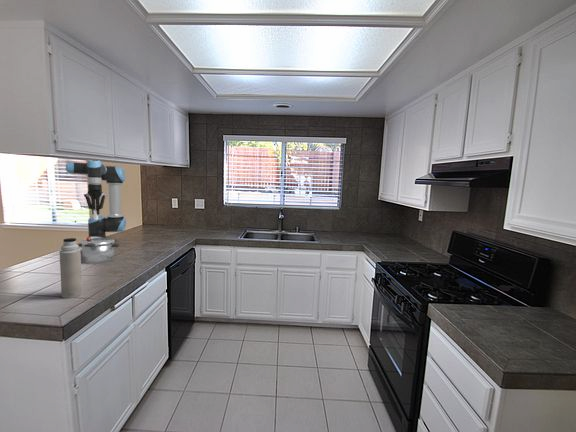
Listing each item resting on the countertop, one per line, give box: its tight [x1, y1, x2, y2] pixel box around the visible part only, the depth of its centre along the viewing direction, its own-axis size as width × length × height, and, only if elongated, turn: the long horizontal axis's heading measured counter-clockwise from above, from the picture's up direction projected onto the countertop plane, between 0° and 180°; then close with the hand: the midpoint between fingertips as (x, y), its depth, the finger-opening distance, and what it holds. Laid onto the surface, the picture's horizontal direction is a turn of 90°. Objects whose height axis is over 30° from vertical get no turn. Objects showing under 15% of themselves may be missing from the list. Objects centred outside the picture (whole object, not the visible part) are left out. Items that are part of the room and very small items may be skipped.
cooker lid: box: [80, 237, 116, 247], centre depth 194 cm, size 23×19×4 cm
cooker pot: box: [76, 242, 120, 265], centre depth 197 cm, size 18×25×12 cm
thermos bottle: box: [59, 237, 83, 299], centre depth 139 cm, size 8×8×28 cm
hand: (96, 219), depth 193 cm, fingers closed
